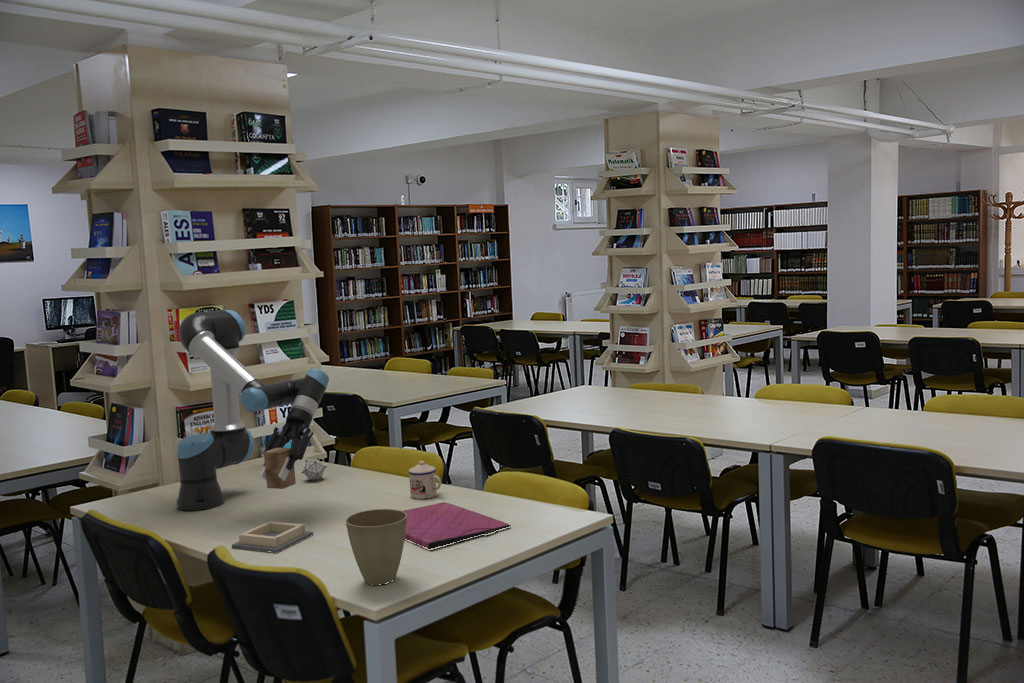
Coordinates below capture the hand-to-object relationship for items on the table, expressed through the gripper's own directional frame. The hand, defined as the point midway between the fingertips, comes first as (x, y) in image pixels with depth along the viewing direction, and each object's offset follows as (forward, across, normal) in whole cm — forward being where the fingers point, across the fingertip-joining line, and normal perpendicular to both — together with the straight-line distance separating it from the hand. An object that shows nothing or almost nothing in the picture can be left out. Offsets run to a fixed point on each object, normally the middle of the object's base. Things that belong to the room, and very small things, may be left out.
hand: (272, 477), depth 262 cm
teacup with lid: (-19, -27, -42) cm, 53 cm away
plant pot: (+31, -54, +8) cm, 63 cm away
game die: (-26, +26, -49) cm, 61 cm away
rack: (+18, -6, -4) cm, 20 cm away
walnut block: (0, 0, -5) cm, 5 cm away
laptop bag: (+2, -48, -22) cm, 53 cm away
